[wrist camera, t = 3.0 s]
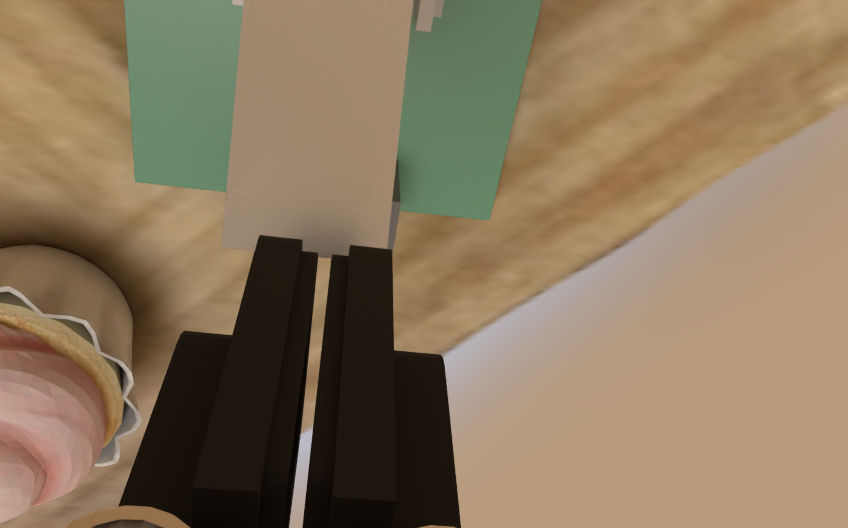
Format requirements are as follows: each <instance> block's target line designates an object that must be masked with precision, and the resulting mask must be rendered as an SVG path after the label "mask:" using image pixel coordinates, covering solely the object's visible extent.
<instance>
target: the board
mask: <svg viewBox="0 0 848 528" xmlns="http://www.w3.org/2000/svg"><path fill="white" fill-rule="evenodd" d="M243 2H244V0H124V5H125V22H126V38H127V55H128V72H129V89H130V105H131V122H132V139H133V156H134V172H135V182H140V183H149V184H159V185H168V186H177V187H186V188H195V189H205V190H214V191H223V192H226V189H227V178H228V167H229V156H230V145H231V134H232V123H233V112H234V101H235V90H236V79H237V68H238V57H239V46H240V35H241V24H242V13H243ZM541 3H542V0H413V8H412V17H411V27H410V36H409V46H408V55H407V65H406V74H405V84H404V93H403V103H402V112H401V122H400V131H399V141H398V150H397V160H396V169H395V179H394V188H393V198H392V207H391V217H390V226H389V236H388V246H387V249H391V250H392V252H393V247H394V241H395V235H396V228H397V222H398V216H399V211H407V212H416V213H425V214H435V215H444V216H453V217H462V218H472V219H481V220H490V216H491V212H492V207H493V203H494V199H495V195H496V191H497V186H498V182H499V178H500V174H501V170H502V166H503V161H504V157H505V153H506V149H507V145H508V141H509V136H510V132H511V128H512V124H513V120H514V115H515V111H516V107H517V103H518V99H519V95H520V90H521V86H522V82H523V78H524V74H525V69H526V65H527V61H528V57H529V53H530V49H531V44H532V40H533V36H534V32H535V28H536V23H537V19H538V15H539V11H540V7H541Z"/></svg>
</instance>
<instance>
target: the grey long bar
mask: <svg viewBox="0 0 848 528" xmlns="http://www.w3.org/2000/svg"><path fill="white" fill-rule="evenodd" d="M412 8H413V0H244V2H243V13H242V24H241V35H240V46H239V57H238V68H237V79H236V90H235V101H234V112H233V123H232V134H231V145H230V156H229V167H228V178H227V189H226V200H225V211H224V222H223V233H222V244H221V247H223V248H233V249H243V250H253V251H255V248H256V245H257V241H258V238H259V235H266V236H275V237H284V238H293V239H302V240H303V249H302V251H308V252H318V257H324V258H332V254H336V255H345V256H348V254H349V247H350V245H357V246H366V247H375V248H384V249H387V246H388V236H389V226H390V217H391V207H392V198H393V188H394V179H395V169H396V160H397V150H398V141H399V131H400V122H401V112H402V103H403V93H404V84H405V74H406V65H407V55H408V46H409V36H410V27H411V17H412Z"/></svg>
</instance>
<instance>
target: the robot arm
mask: <svg viewBox="0 0 848 528" xmlns="http://www.w3.org/2000/svg"><path fill="white" fill-rule="evenodd" d="M302 249H303V240H302V239H293V238H284V237H275V236H266V235H259V238H258V241H257V245H256V248H255V252H254V256H253V260H252V263H251V267H250V271H249V275H248V278H247V282H246V286H245V290H244V294H243V297H242V301H241V305H240V309H239V312H238V316H237V320H236V324H235V327H234V331H233V335H223V334H212V333H202V332H191V331H184V332H183V333H182V334H181V335H180V337H179V340H178V342H177V344H176V347H175V350H174V353H173V356H172V358H171V361H170V364H169V367H168V370H167V372H166V375H165V378H164V381H163V384H162V386H161V389H160V392H159V395H158V398H157V400H156V403H155V406H154V409H153V411H152V414H151V417H150V420H149V423H148V425H147V428H146V431H145V434H144V437H143V439H142V442H141V445H140V448H139V451H138V453H137V456H136V459H135V462H134V465H133V467H132V470H131V473H130V476H129V479H128V481H127V484H126V487H125V490H124V493H123V495H122V498H121V501H120V504H119V506H118V507H114V508H108V509H103V510H98V511H96V512H94V513H91V514H89V515H86V516H84V517H82V518H79V519H77V520H75V521H73V522H71V523H70V524H68V525H67V526H66V527H64V528H289V522H290V514H291V506H292V498H293V490H294V482H295V474H296V466H297V458H298V450H299V442H300V434H301V426H302V417H303V407H304V397H305V387H306V376H307V366H308V356H309V345H310V335H311V325H312V315H313V304H314V294H315V284H316V273H317V263H318V252H308V251H302ZM457 494H458V493H457V483H456V474H455V465H454V454H453V444H452V434H451V424H450V414H449V404H448V396H447V385H446V376H445V366H444V360H443V357H442V356H441V355H437V354H427V353H416V352H405V351H394V329H393V271H392V250H391V249H384V248H375V247H366V246H357V245H350V247H349V254H348V256H345V255H336V254H332V259H331V268H330V278H329V287H328V296H327V305H326V314H325V324H324V333H323V342H322V351H321V360H320V370H319V379H318V388H317V397H316V406H315V416H314V425H313V434H312V444H311V453H310V463H309V472H308V481H307V491H306V500H305V510H304V519H303V528H461V524H460V514H459V504H458V495H457Z"/></svg>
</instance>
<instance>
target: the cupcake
mask: <svg viewBox="0 0 848 528" xmlns="http://www.w3.org/2000/svg"><path fill="white" fill-rule="evenodd" d="M132 335H133V318H132V315H131V312H130V309H129V306H128V304H127V302H126V299H125V297H124V295H123V294H122V292H121V290H120V289H119V287H118V286H117V285H116V283H115V282H114V281H113V280H112V279H111V278H110V277H109V276H108V275H107V274H106V273H104V272H103V271H102V270H101V269H99V268H98V267H97V266H95V265H94V264H92V263H91V262H89V261H87V260H86V259H84V258H82V257H80V256H79V255H76V254H73V253H70V252H67V251H64V250H61V249H57V248H52V247H47V246H40V245H20V246H12V247H6V248H2V249H0V523H3V522H5V521H7V520H10V519H12V518H14V517H17V516H19V515H21V514H23V513H24V512H26V511H27V510H29V509H30V508H31V507H33V506H37V505H39V504H42V503H46V502H49V501H51V500H53V499H55V498H58V497H60V496H63V495H65V494H67V493H68V492H70V491H72V490H73V489H74V488H76V487H77V486H78V485H79V484H80V483H81V482H82V481H83V480H84V478H85V477H86V476H87V475H88V473H89V472H90V471H91V469H92V468H93V467H94V466H108V465H111V464H115V463H117V461H118V459H119V457H120V449H119V440H118V439H119V438H121V437H123V436H125V435H127V434H130V433H132V432H134V431H135V430H136V429H137V428H138V426H139V425H140V424H141V422H142V421H141V417H140V413H139V409H138V406H137V401H136V397H135V392H134V388H133V384H134V381H133V377H132Z"/></svg>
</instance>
